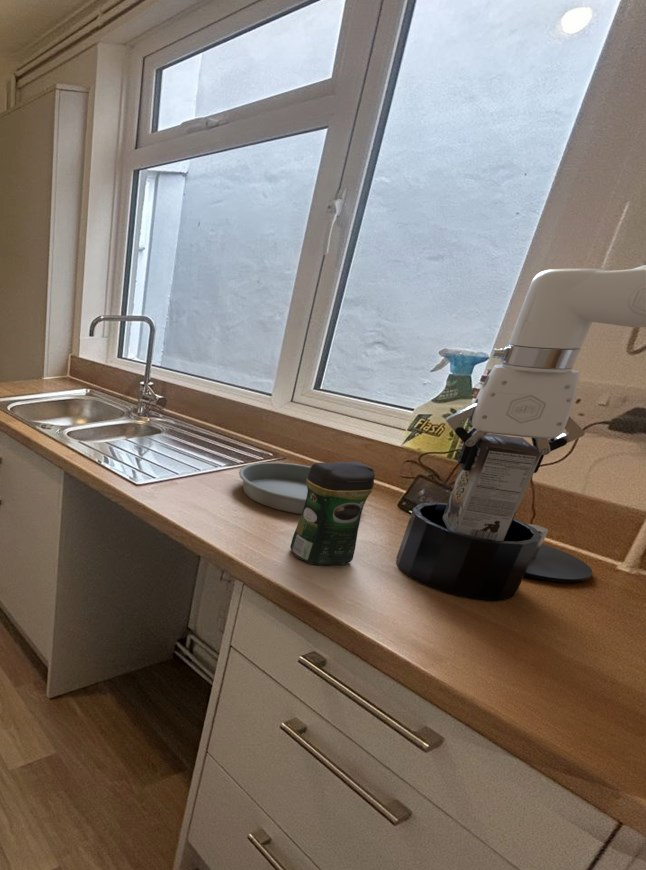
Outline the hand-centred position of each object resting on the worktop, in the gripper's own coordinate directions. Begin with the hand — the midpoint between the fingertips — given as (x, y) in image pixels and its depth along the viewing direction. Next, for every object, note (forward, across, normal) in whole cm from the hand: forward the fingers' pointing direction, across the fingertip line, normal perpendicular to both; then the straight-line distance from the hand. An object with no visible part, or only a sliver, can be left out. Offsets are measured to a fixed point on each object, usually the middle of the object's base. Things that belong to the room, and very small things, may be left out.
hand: (493, 471), depth 84 cm
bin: (+19, 0, 0) cm, 19 cm away
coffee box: (+11, 0, 0) cm, 11 cm away
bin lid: (+19, +12, +13) cm, 26 cm away
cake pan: (+20, -25, +26) cm, 41 cm away
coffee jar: (+20, -20, -4) cm, 28 cm away
